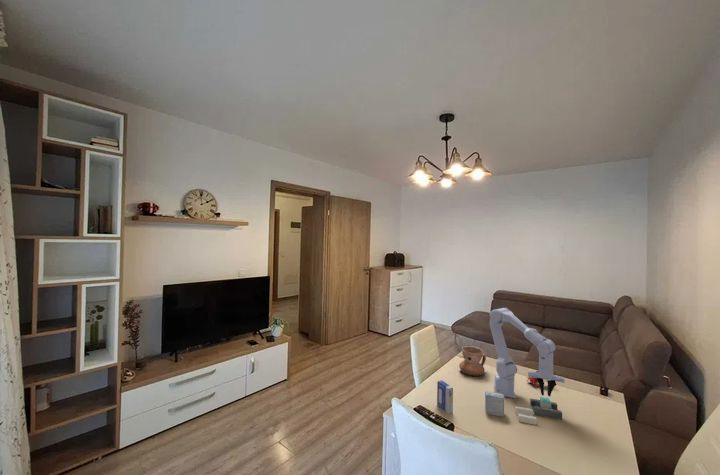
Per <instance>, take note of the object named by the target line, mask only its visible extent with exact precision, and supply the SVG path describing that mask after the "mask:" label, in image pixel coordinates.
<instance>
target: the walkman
mask: <svg viewBox="0 0 720 475" xmlns="http://www.w3.org/2000/svg"><path fill="white" fill-rule="evenodd" d="M436 384H437V385H436V386H437V387H436V388H437V390H436V391H437V392H436V397H437V399H436V404H437V405H436V406H437V407H439V408H440V409H441V410H442V411H444V412H445V413H446V414H447V415H449V414H453V413H454V408H453V407H454V387H453V386H451V385H450V384H448V383H447V382H445V381H444V380H438V381H437V383H436Z"/></svg>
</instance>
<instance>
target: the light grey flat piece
mask: <svg viewBox="0 0 720 475" xmlns="http://www.w3.org/2000/svg"><path fill="white" fill-rule="evenodd" d="M514 409H515V414H517V421H518V422H520V423H526V424H531V425H537V421H538V420H537V417H536V416H534V412H533V410H532V408H527V407H522V406H515V408H514Z"/></svg>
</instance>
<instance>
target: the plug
mask: <svg viewBox="0 0 720 475" xmlns="http://www.w3.org/2000/svg"><path fill="white" fill-rule="evenodd" d="M539 400H540V407H543V408H549V409H551V402H552V401H551V399H550V398H548V397H543V396H541V397H539Z"/></svg>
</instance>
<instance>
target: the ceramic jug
mask: <svg viewBox="0 0 720 475" xmlns="http://www.w3.org/2000/svg"><path fill="white" fill-rule="evenodd" d="M459 358H463V359H464V360H462V361H461V362H460V363H459V365H458V367H459V369H460V371H461V372H462V373H464V374H466V375H469V376H473V377H475V376H476V377H477V376H481V375H483V374H484V373H485V370H486V369H485V367H484V365H485V362H486V361H487V360H486V358H487V357H486V355H485V354H484V350H483V349H481V348H480V347H477V346H470V345H466V346H462V347H461V354H459Z"/></svg>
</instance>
